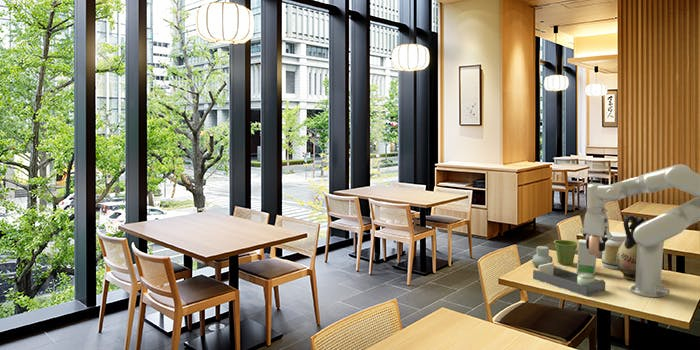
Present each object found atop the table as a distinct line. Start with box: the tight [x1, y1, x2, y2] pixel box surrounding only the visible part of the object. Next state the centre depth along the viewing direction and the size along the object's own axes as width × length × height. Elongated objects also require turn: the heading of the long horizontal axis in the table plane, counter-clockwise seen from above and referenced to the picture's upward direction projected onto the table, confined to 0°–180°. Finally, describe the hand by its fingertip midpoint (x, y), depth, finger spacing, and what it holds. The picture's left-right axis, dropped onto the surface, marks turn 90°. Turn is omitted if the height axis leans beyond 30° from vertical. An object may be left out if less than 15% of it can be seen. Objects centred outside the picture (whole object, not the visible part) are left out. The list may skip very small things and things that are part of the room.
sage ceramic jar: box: [577, 273, 596, 286], centre depth 219 cm, size 7×7×7 cm
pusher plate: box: [537, 262, 555, 275], centre depth 239 cm, size 5×10×6 cm, turn 120°
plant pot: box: [553, 239, 579, 266], centre depth 260 cm, size 12×12×11 cm
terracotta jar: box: [589, 235, 602, 256], centre depth 228 cm, size 6×6×9 cm
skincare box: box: [576, 239, 597, 276], centre depth 244 cm, size 8×7×16 cm
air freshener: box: [531, 245, 554, 267], centre depth 255 cm, size 11×8×10 cm
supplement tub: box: [601, 231, 627, 271], centre depth 252 cm, size 12×12×17 cm
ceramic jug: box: [616, 214, 646, 281], centre depth 234 cm, size 17×15×30 cm
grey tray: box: [532, 266, 606, 297], centre depth 227 cm, size 28×13×5 cm, turn 30°
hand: (595, 249), depth 228 cm, fingers closed on terracotta jar, 5 cm apart
